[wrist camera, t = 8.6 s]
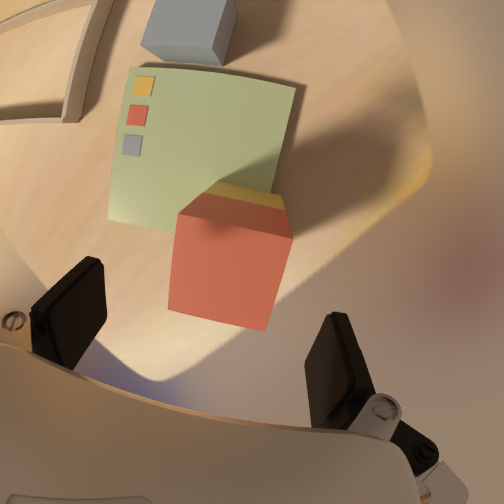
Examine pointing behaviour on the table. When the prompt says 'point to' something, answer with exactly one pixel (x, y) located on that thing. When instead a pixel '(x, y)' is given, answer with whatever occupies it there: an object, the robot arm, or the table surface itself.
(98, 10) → the beige open rectangular frame
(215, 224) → the red block
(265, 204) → the ochre block
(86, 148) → the table surface
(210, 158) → the building board
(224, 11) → the slate block
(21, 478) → the robot arm
